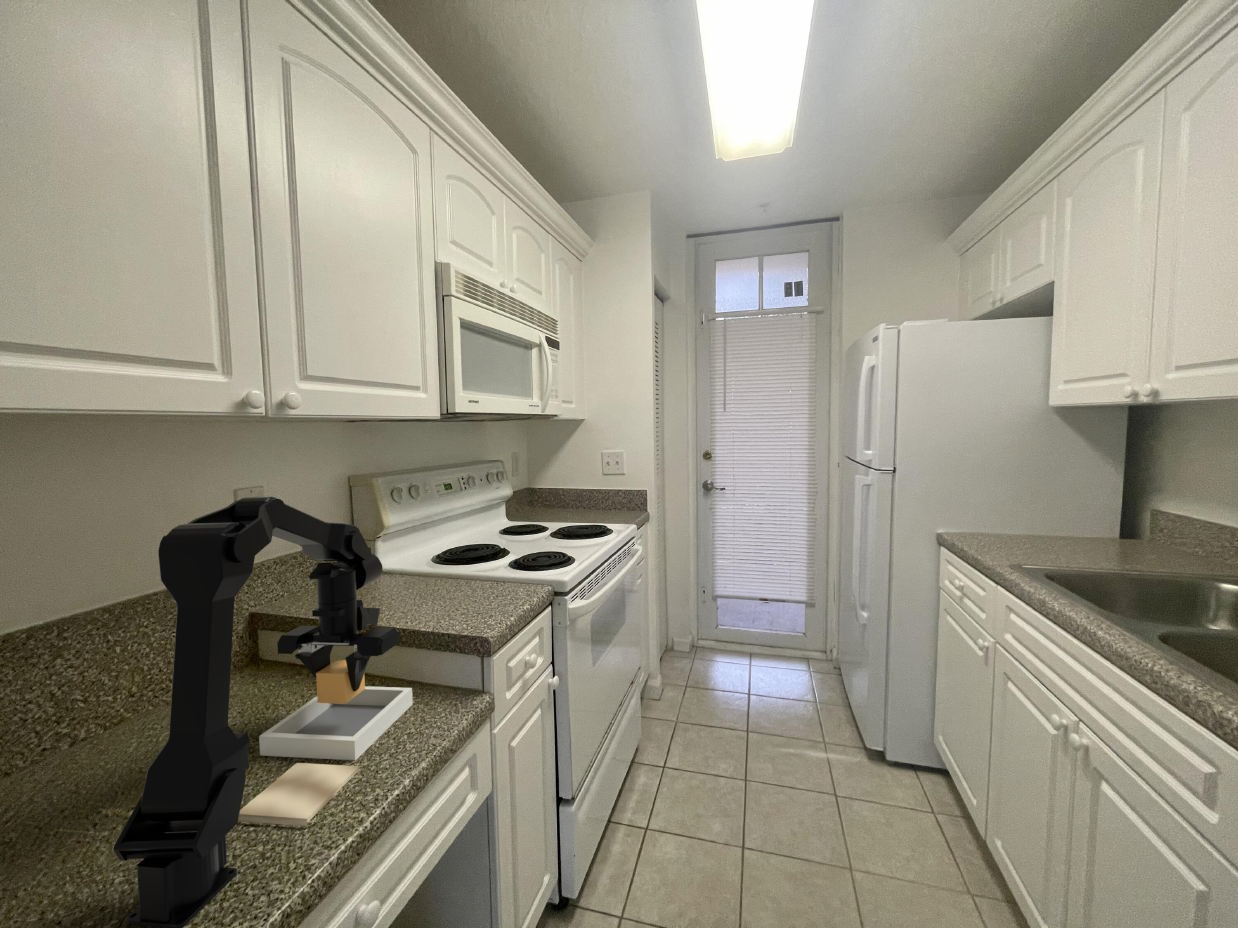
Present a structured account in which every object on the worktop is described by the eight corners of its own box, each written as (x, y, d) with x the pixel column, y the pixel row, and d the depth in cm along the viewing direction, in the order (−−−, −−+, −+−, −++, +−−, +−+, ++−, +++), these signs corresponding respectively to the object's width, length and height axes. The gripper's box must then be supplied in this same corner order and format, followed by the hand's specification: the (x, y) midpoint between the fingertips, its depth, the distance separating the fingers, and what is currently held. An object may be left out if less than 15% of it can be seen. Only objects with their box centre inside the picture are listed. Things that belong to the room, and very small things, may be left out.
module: (345, 703, 79) (344, 673, 78) (317, 702, 79) (316, 673, 79) (364, 688, 83) (363, 660, 83) (338, 687, 84) (337, 659, 84)
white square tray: (355, 763, 73) (354, 740, 72) (260, 757, 74) (259, 736, 74) (412, 706, 88) (411, 687, 88) (333, 703, 90) (332, 685, 90)
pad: (307, 826, 60) (307, 818, 60) (236, 821, 62) (235, 813, 61) (359, 772, 70) (358, 766, 70) (297, 769, 71) (296, 762, 71)
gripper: (415, 585, 88) (418, 669, 88) (321, 585, 90) (325, 666, 90) (377, 605, 77) (381, 700, 77) (272, 604, 79) (276, 697, 79)
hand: (341, 689), depth 81 cm, fingers closed on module, 5 cm apart
